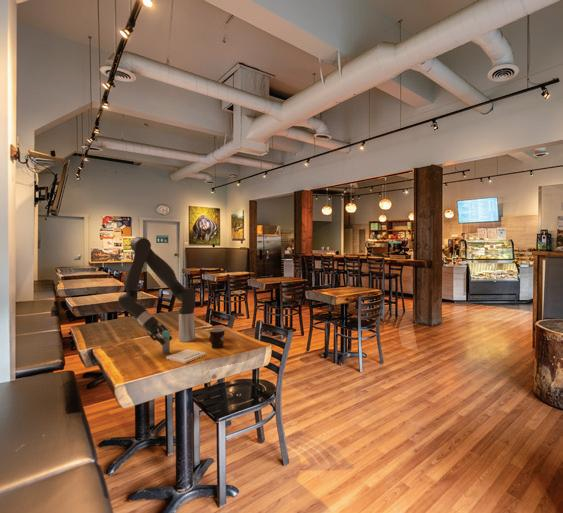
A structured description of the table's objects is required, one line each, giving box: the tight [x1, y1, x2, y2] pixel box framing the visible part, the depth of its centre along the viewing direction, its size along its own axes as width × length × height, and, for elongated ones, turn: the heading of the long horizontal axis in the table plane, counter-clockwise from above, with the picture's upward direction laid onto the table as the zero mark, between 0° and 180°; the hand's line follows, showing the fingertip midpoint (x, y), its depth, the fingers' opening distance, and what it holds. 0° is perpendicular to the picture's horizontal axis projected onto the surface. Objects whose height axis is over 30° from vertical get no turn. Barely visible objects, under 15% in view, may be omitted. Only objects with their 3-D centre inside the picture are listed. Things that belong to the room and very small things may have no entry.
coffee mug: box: [209, 327, 226, 350], centre depth 190 cm, size 12×9×10 cm
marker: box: [161, 330, 171, 355], centre depth 181 cm, size 4×4×12 cm
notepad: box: [165, 348, 207, 364], centre depth 174 cm, size 15×14×1 cm
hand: (167, 341), depth 180 cm, fingers open, 8 cm apart
